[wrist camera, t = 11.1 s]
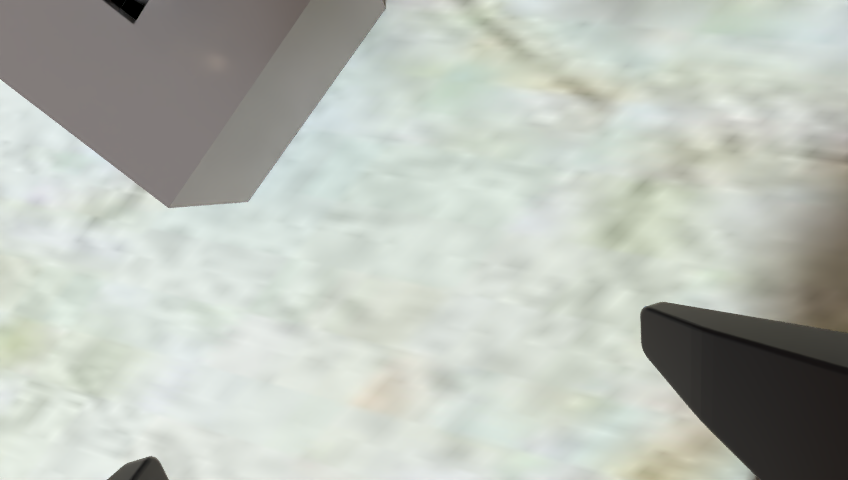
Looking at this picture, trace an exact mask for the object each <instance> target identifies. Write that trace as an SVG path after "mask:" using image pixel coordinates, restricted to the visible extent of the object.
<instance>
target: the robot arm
mask: <svg viewBox="0 0 848 480" xmlns="http://www.w3.org/2000/svg"><path fill="white" fill-rule="evenodd" d="M640 319H641V343H642V348H643V351H644V353H645V355H646V356H647V358H648V359H649V360H650V361H651V362H652V364H653V365H654V366H655V367H656V368H657V370H658V371H659V372H660V373H661V374H662V376H663V377H664V378H665V379H666V380H667V382H668V383H669V384H670V385H671V386H672V387H673V389H674V390H675V391H676V392H677V393H678V395H679V396H680V397H681V398H682V399H683V401H684V402H685V403H686V404H687V405H688V407H689V408H690V409H691V410H692V411H693V412H694V413H695V415H696V416H697V417H698V418H699V419H700V420H701V421H702V422H703V423H704V424H705V425H706V426H707V428H708V429H709V430H710V431H711V432H712V433H713V434H714V435H715V436H716V437H717V438H718V439H719V440H720V441H721V442H722V443H723V444H724V445H725V446H726V447H727V448H728V449H729V450H730V451H731V452H732V453H733V454H734V455H736V456H737V457H738V458H739V459H740V460H741V461H742V462H743V463H744V464H745V465H746V466H747V467H748V468H749V469H750V470H751V471H752V472H753V473H754V474H755V475H756V476H757V477H758V478H759V479H760V480H848V333H844V332H839V331H833V330H827V329H821V328H815V327H809V326H803V325H797V324H791V323H785V322H779V321H774V320H768V319H762V318H756V317H750V316H744V315H738V314H732V313H726V312H720V311H714V310H709V309H703V308H697V307H691V306H685V305H679V304H673V303H667V302H659V303H656V304H653V305H650V306H646V307H644V308H643V309H642V311H641V314H640ZM107 480H169V479H168V477H167V475H166V473H165V471H164V469H163V467H162V465H161V463H160V462H159V460H158V459H157V458H156V457H152V456H149V457H146V458H143V459H139V460H136V461H133V462H129V463H127V464H125V465H124V466H122V467H121V468H120V469H119V470H118V471H117V472H116V473H114V474H113V475H112V476H111V477H110V478H109V479H107Z"/></svg>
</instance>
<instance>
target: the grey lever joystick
mask: <svg viewBox="0 0 848 480" xmlns="http://www.w3.org/2000/svg"><path fill="white" fill-rule="evenodd" d="M125 1H126V0H0V79H1V80H2V81H3V82H5V83H6V84H7V85H9V86H10V87H11V88H13V89H14V90H15V91H16V92H18V93H19V94H20V95H22V96H23V97H24V98H26V99H27V100H28V101H30V102H31V103H32V104H33V105H35V106H36V107H37V108H39V109H40V110H41V111H43V112H44V113H45V114H47V115H48V116H49V117H50V118H52V119H53V120H54V121H56V122H57V123H58V124H60V125H61V126H62V127H64V128H65V129H66V130H67V131H69V132H70V133H71V134H73V135H74V136H75V137H77V138H78V139H79V140H80V141H82V142H83V143H84V144H86V145H87V146H88V147H90V148H91V149H92V150H94V151H95V152H96V153H97V154H99V155H100V156H101V157H103V158H104V159H105V160H107V161H108V162H109V163H111V164H112V165H113V166H114V167H116V168H117V169H118V170H120V171H121V172H122V173H124V174H125V175H126V176H128V177H129V178H130V179H131V180H133V181H134V182H135V183H137V184H138V185H139V186H141V187H142V188H143V189H145V190H146V191H147V192H148V193H150V194H151V195H152V196H154V197H155V198H156V199H158V200H159V201H160V202H162V203H163V204H164V205H165V206H167V207H168V208H175V207H188V206H201V205H214V204H227V203H240V202H248V201H249V200H250V198H251V197H252V196H253V194H254V193H255V191H256V190H257V189H258V187H259V186H260V184H261V183H262V182H263V180H264V179H265V177H266V176H267V174H268V173H269V172H270V170H271V169H272V167H273V166H274V165H275V163H276V162H277V160H278V159H279V158H280V156H281V155H282V153H283V152H284V151H285V149H286V148H287V146H288V145H289V144H290V142H291V141H292V139H293V138H294V137H295V135H296V134H297V132H298V131H299V129H300V128H301V127H302V125H303V124H304V122H305V121H306V120H307V118H308V117H309V115H310V114H311V113H312V111H313V110H314V108H315V107H316V106H317V104H318V103H319V101H320V100H321V99H322V97H323V96H324V94H325V93H326V91H327V90H328V89H329V87H330V86H331V84H332V83H333V82H334V80H335V79H336V77H337V76H338V75H339V73H340V72H341V70H342V69H343V68H344V66H345V65H346V63H347V62H348V61H349V59H350V58H351V56H352V55H353V54H354V52H355V51H356V49H357V48H358V46H359V45H360V44H361V42H362V41H363V39H364V38H365V37H366V35H367V34H368V32H369V31H370V30H371V28H372V27H373V25H374V24H375V23H376V21H377V20H378V18H379V17H380V16H381V14H382V13H383V11H384V10H385V9H386V8H385V5H384V3H383V0H149V1H148V3H147V4H146V6H145V7H144V9H143V11H142V12H141V14H140V15H139V17H138V19H137V20H135V19H133V18H132V17H131V16H130V15H128V14H127V13H126V12H124V11H123V10H122V9H121V7H122V6H123V4H124V2H125Z"/></svg>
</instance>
